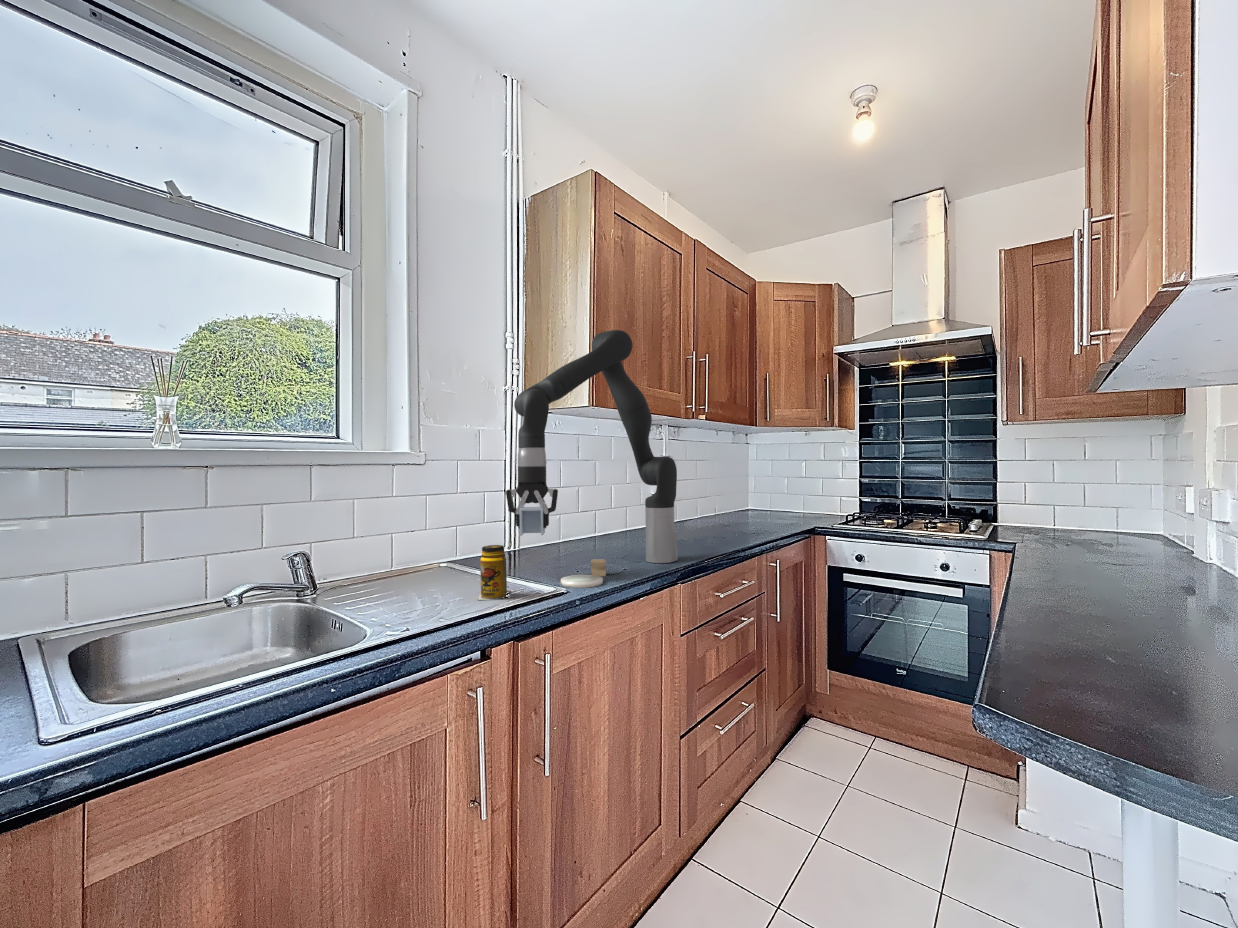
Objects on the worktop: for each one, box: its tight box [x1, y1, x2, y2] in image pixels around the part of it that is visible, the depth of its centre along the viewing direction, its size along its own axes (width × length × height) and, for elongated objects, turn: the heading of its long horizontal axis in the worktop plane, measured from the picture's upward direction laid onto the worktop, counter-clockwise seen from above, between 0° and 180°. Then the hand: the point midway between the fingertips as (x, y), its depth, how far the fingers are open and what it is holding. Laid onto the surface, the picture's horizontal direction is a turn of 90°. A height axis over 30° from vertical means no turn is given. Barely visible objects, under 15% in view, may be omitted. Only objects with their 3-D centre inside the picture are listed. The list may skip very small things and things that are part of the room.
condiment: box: [478, 544, 511, 601], centre depth 133 cm, size 7×8×12 cm
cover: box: [519, 506, 546, 536], centre depth 149 cm, size 6×6×7 cm
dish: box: [560, 574, 604, 589], centre depth 146 cm, size 11×11×1 cm
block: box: [590, 559, 607, 577], centre depth 157 cm, size 4×4×4 cm
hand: (532, 527), depth 149 cm, fingers closed on cover, 6 cm apart
